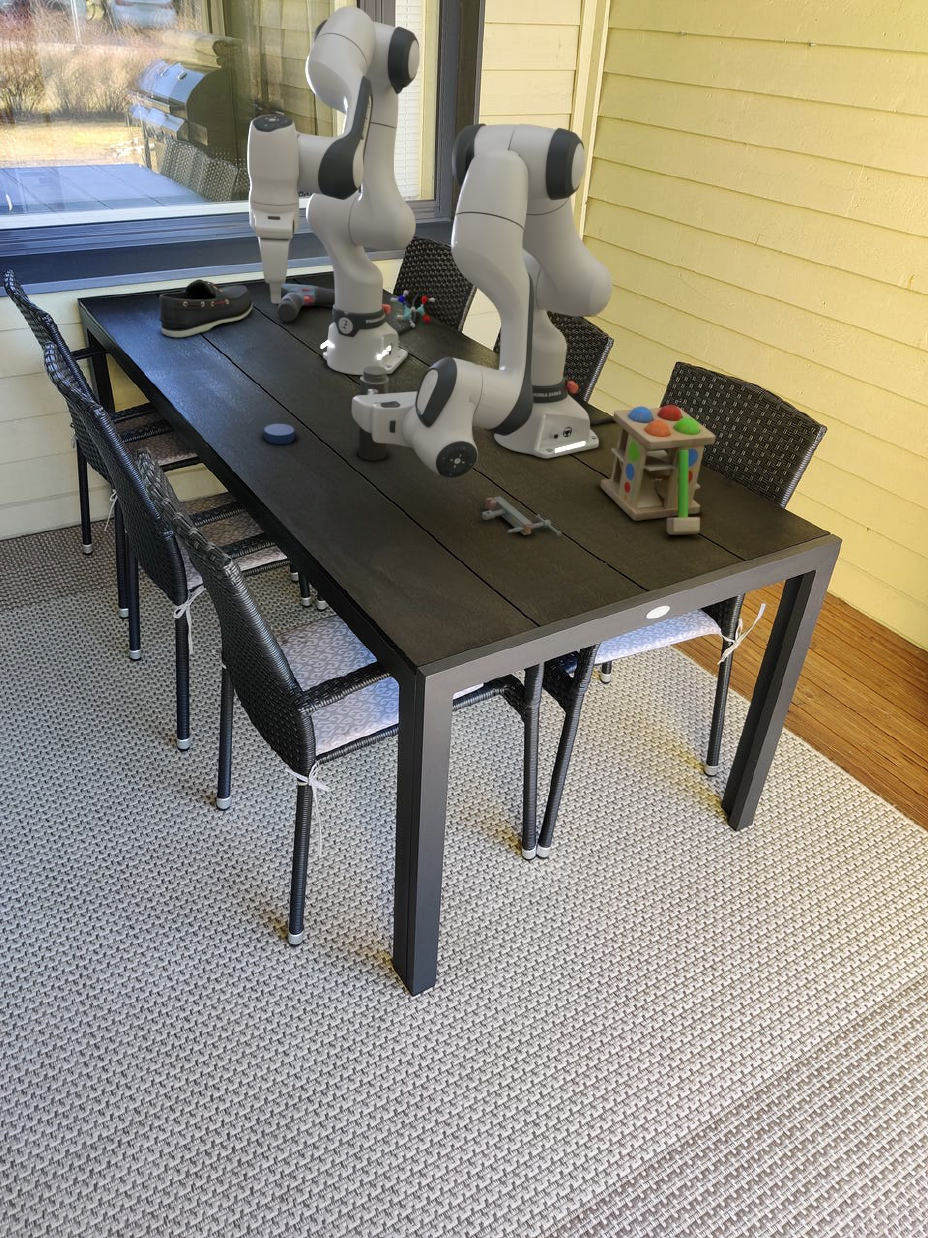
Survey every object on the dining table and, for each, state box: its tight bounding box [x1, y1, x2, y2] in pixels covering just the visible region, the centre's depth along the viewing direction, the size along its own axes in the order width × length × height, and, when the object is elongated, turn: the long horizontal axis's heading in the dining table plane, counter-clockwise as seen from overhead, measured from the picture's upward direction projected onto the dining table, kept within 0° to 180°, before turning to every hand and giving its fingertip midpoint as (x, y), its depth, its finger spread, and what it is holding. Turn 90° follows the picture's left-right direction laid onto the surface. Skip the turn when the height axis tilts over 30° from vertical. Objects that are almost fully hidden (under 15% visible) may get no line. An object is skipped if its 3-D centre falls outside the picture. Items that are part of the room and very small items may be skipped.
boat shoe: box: [158, 278, 254, 338], centre depth 253 cm, size 13×33×10 cm, turn 147°
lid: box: [263, 423, 296, 445], centre depth 199 cm, size 6×6×2 cm
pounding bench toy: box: [599, 404, 716, 536], centre depth 182 cm, size 23×14×18 cm, turn 20°
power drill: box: [277, 283, 335, 322], centre depth 265 cm, size 5×19×20 cm
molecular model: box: [390, 290, 436, 329], centre depth 265 cm, size 12×10×10 cm
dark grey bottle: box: [358, 366, 390, 462], centre depth 192 cm, size 5×5×18 cm
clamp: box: [481, 496, 563, 537], centre depth 177 cm, size 15×2×10 cm
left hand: (276, 294), depth 184 cm, fingers open, 8 cm apart
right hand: (396, 391), depth 177 cm, fingers open, 8 cm apart
